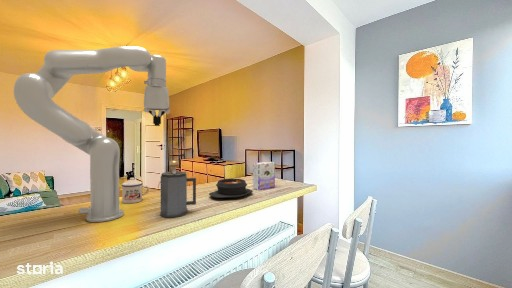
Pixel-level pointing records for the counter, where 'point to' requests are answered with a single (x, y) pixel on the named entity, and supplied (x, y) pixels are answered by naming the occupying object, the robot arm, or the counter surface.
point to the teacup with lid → (132, 191)
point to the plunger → (174, 165)
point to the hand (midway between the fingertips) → (157, 125)
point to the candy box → (263, 175)
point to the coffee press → (175, 194)
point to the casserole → (231, 189)
